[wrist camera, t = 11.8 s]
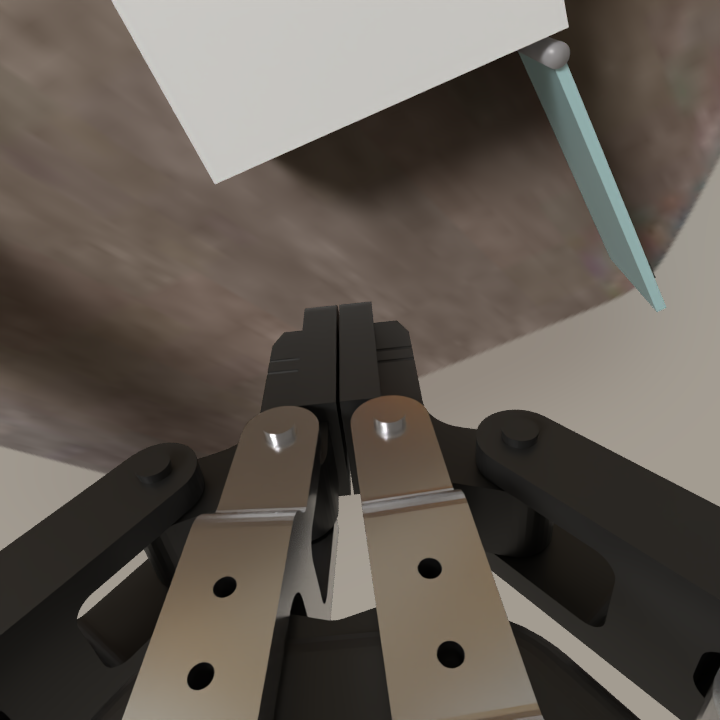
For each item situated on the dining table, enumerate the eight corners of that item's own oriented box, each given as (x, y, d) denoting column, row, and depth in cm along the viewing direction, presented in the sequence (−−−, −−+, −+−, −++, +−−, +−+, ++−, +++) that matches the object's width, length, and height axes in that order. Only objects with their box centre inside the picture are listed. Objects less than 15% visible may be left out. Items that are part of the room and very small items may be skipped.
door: (626, 249, 35) (678, 304, 29) (606, 260, 36) (653, 316, 30) (528, 18, 28) (571, 31, 22) (504, 35, 29) (541, 51, 23)
